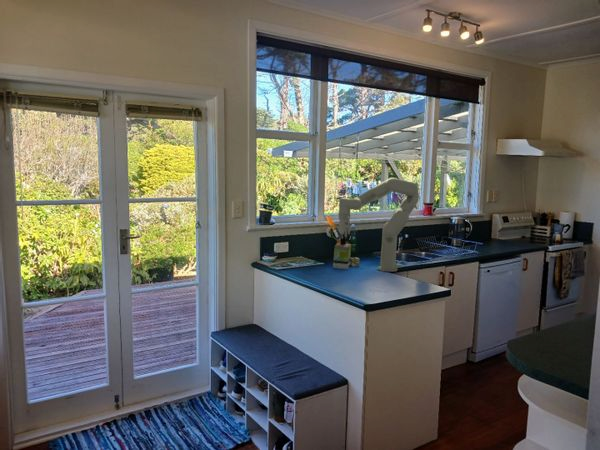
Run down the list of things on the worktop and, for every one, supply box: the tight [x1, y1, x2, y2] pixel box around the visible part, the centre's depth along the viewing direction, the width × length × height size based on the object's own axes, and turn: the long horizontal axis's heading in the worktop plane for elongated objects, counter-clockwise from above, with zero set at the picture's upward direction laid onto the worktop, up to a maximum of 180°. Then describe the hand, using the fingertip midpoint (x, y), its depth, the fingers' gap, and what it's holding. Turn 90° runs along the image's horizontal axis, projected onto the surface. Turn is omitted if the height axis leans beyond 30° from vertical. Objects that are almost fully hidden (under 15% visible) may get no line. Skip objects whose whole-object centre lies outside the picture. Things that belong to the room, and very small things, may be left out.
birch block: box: [349, 256, 360, 267], centre depth 306 cm, size 5×5×5 cm
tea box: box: [332, 242, 352, 270], centre depth 300 cm, size 15×10×15 cm, turn 168°
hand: (343, 244), depth 299 cm, fingers closed
